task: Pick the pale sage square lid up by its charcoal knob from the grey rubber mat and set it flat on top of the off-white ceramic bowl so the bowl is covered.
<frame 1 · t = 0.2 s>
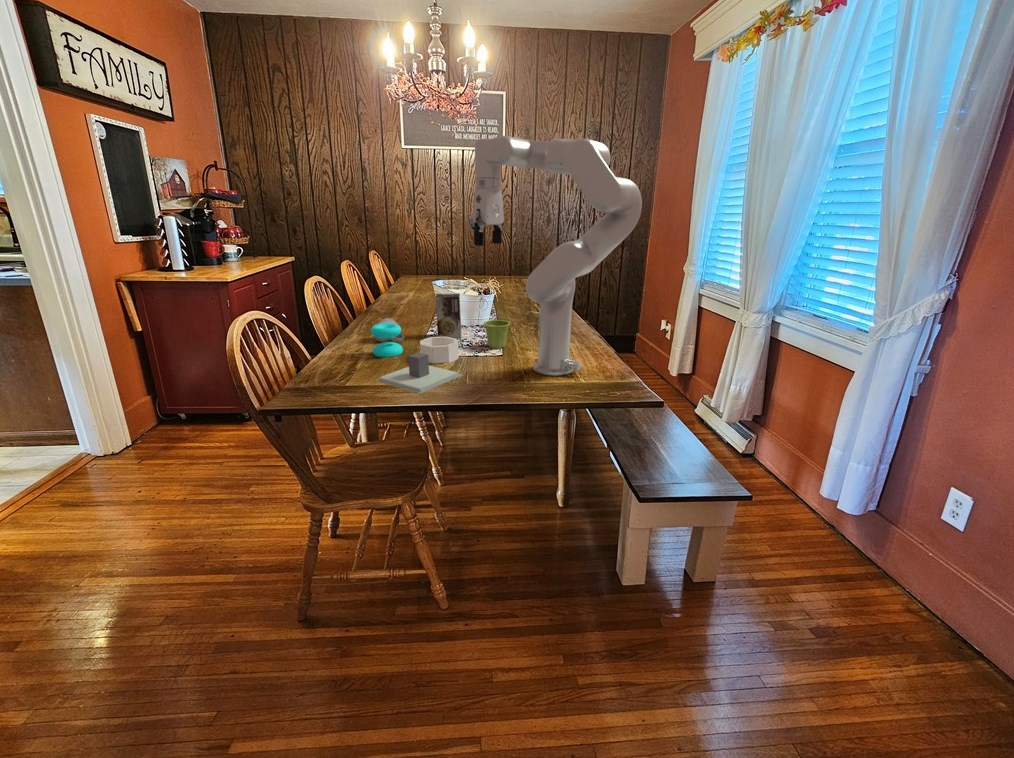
hand: (488, 244, 148), 36 cm above the table, tool pointing down, fingers open, 9 cm apart
ceramic mug: (390, 340, 180), on the table
coffee box: (449, 336, 185), on the table
mat: (419, 379, 140), on the table
lid: (419, 377, 140), point 1 cm above the table, touching mat
bowl: (439, 359, 158), on the table
plant pot: (496, 346, 173), on the table
donuts: (388, 355, 163), on the table
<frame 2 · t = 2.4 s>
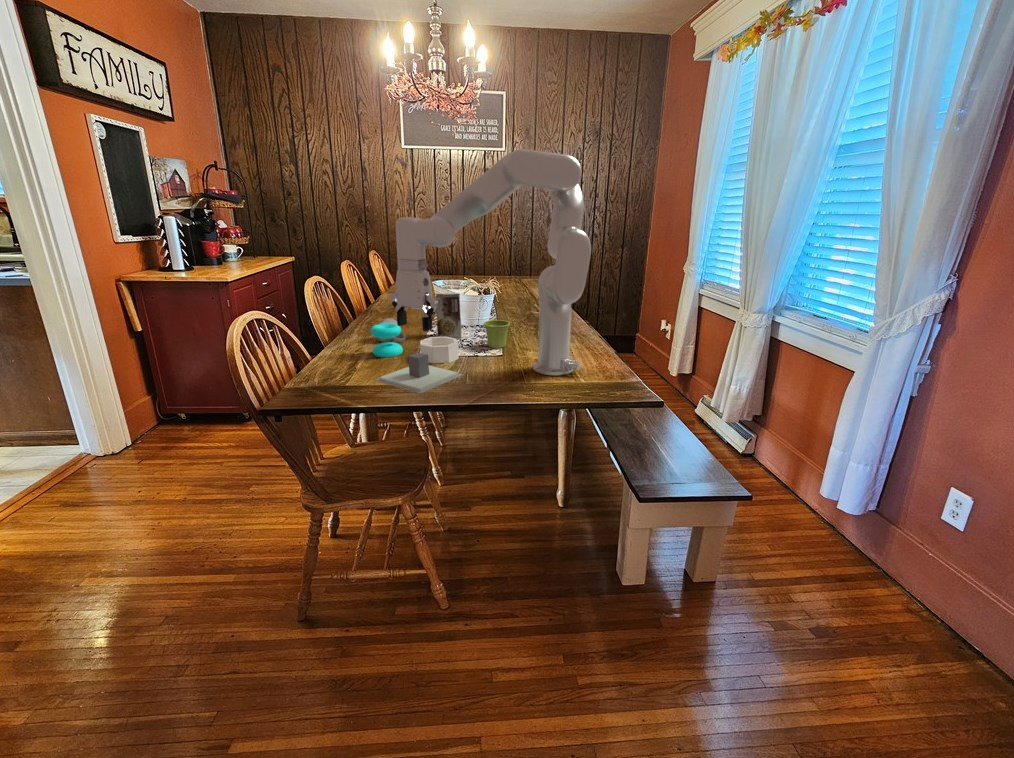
hand: (414, 327, 135), 16 cm above the table, tool pointing down, fingers open, 9 cm apart
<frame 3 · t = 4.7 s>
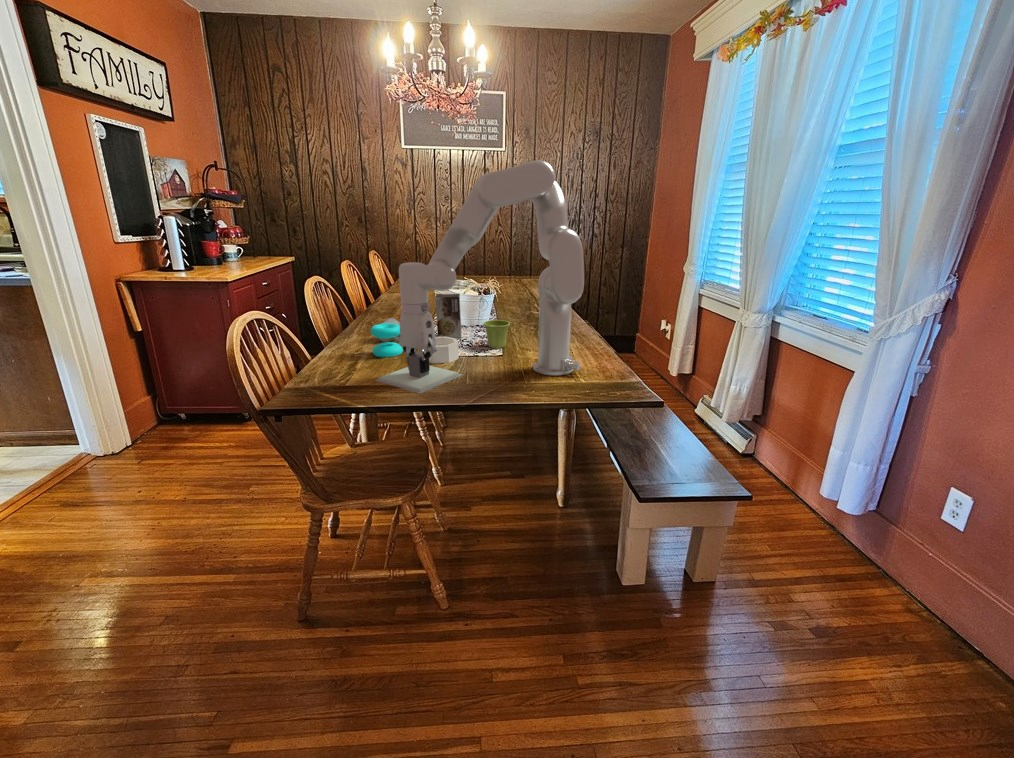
hand: (419, 369, 139), 3 cm above the table, tool pointing down, fingers closed on lid, 4 cm apart
lid: (419, 377, 140), point 1 cm above the table, touching gripper, mat
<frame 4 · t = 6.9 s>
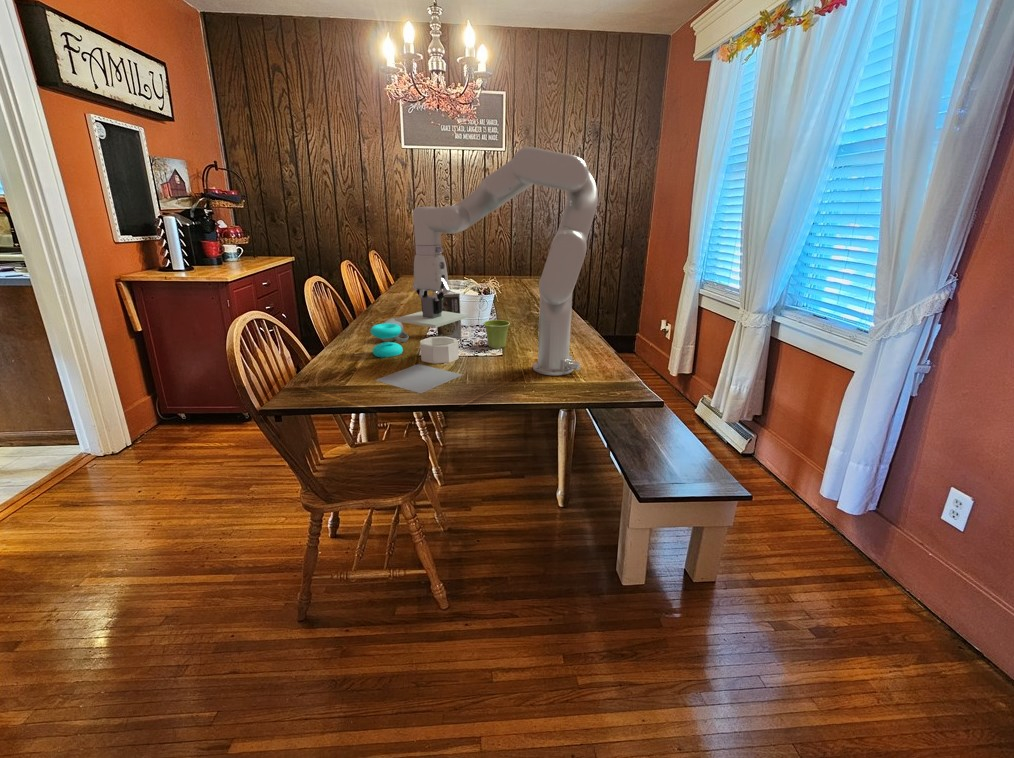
hand: (432, 311, 147), 17 cm above the table, tool pointing down, fingers closed on lid, 4 cm apart
lid: (432, 319, 148), point 15 cm above the table, touching gripper
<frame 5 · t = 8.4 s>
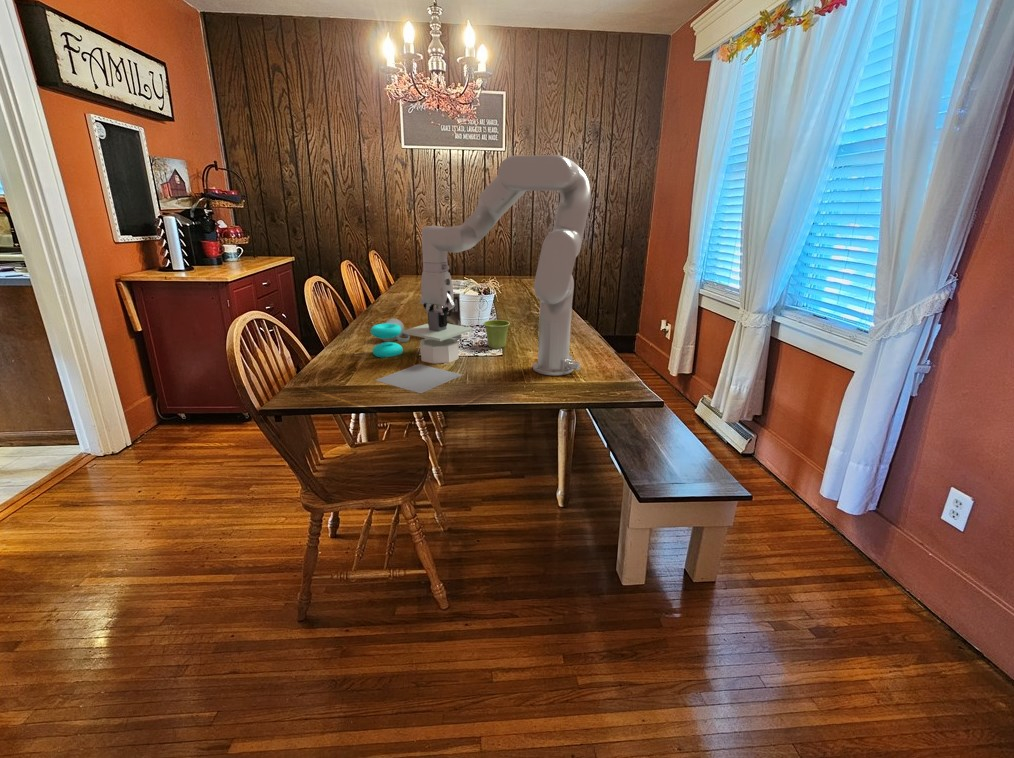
hand: (437, 324, 154), 12 cm above the table, tool pointing down, fingers closed on lid, 4 cm apart
lid: (437, 331, 155), point 9 cm above the table, touching gripper
when the fingers open (10 cm above the table, at t = 9.5 s): lid drops 1 cm, resting on bowl.
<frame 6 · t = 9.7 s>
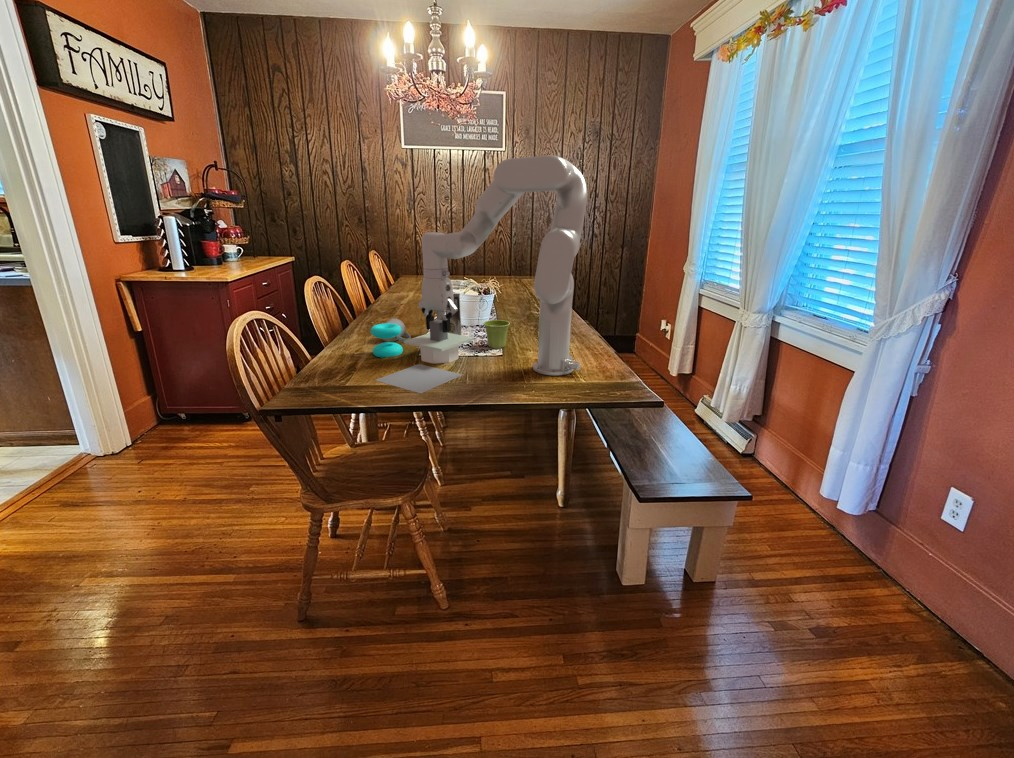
hand: (438, 329, 155), 10 cm above the table, tool pointing down, fingers open, 6 cm apart
lid: (439, 341, 156), point 6 cm above the table, touching bowl
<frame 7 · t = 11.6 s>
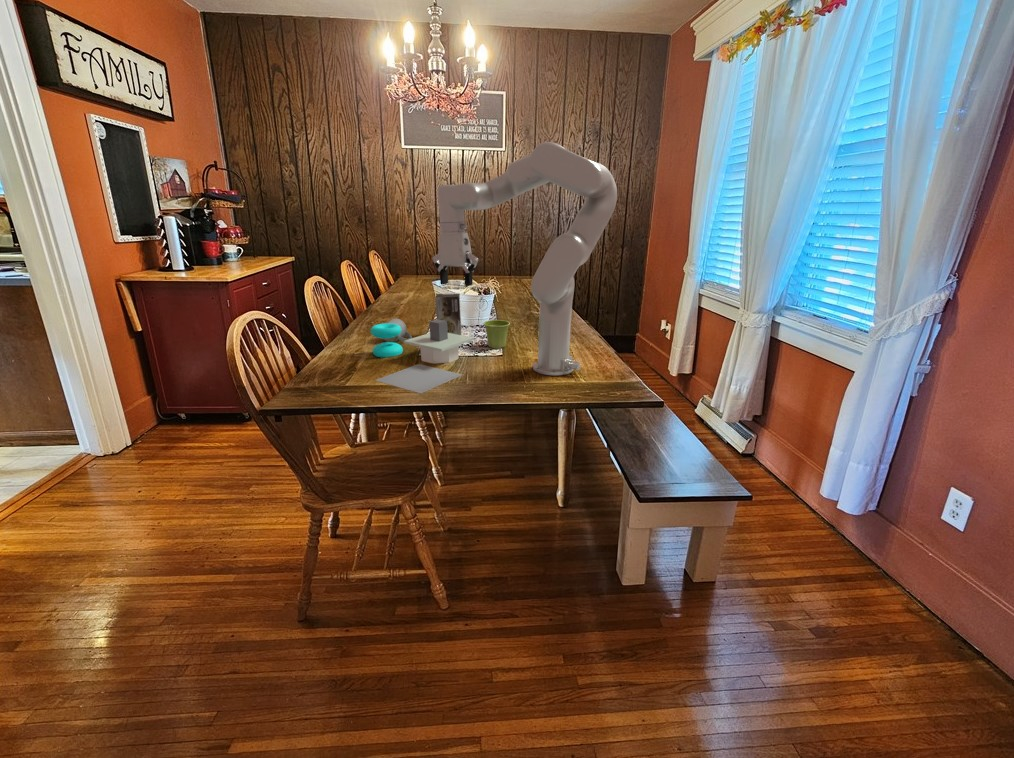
hand: (456, 284, 152), 24 cm above the table, tool pointing down, fingers open, 9 cm apart
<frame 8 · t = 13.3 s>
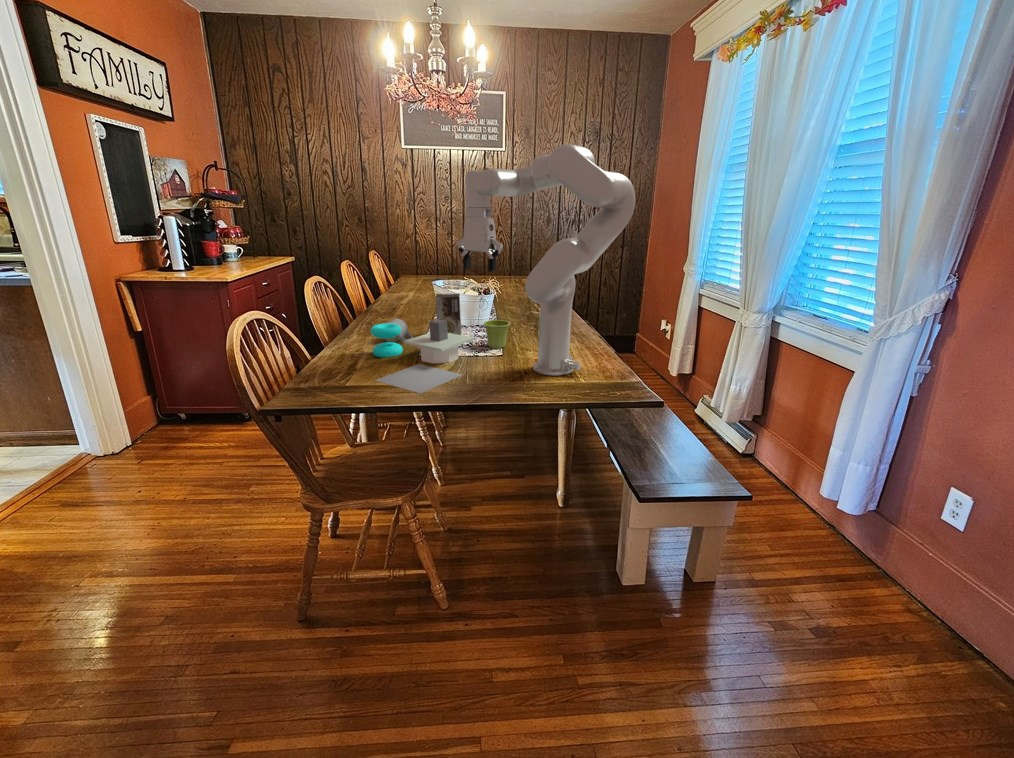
hand: (479, 270, 154), 28 cm above the table, tool pointing down, fingers open, 9 cm apart
at the end: lid 0.1 cm from the bowl (horizontally); lid point 6.0 cm above the table; lid tilted 0° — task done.
